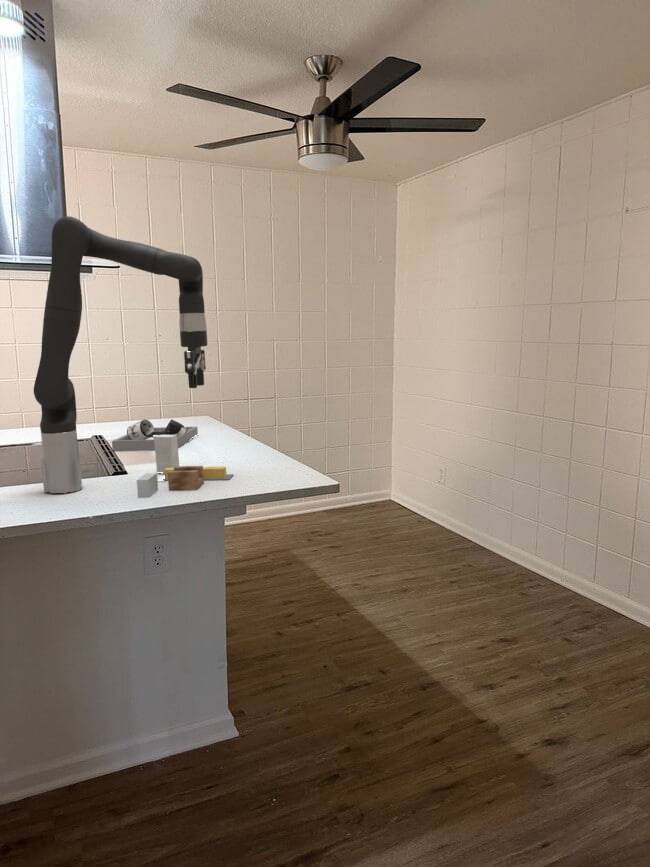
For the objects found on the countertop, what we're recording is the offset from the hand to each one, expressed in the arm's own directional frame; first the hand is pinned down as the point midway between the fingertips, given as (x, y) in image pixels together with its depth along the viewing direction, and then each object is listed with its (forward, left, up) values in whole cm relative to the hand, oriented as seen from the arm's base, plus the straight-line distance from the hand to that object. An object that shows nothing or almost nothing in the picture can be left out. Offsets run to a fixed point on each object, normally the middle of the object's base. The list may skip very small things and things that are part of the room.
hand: (196, 386), depth 172 cm
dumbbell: (-35, +68, -28) cm, 81 cm away
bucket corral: (-35, +68, -28) cm, 81 cm away
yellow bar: (-3, +3, -28) cm, 28 cm away
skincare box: (-14, +12, -28) cm, 34 cm away
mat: (-3, +3, -28) cm, 28 cm away
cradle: (-3, -7, -28) cm, 29 cm away
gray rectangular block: (-12, -14, -28) cm, 34 cm away
